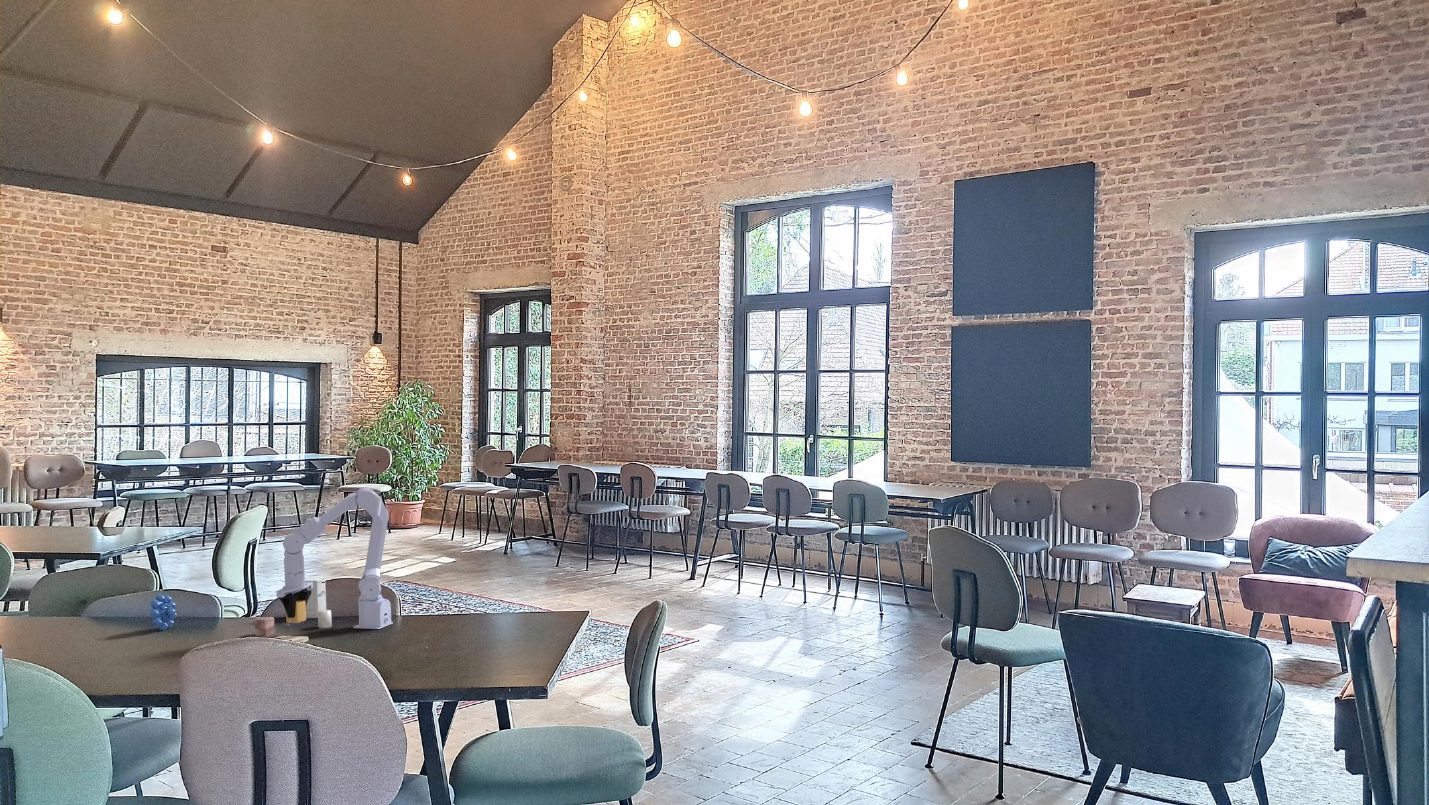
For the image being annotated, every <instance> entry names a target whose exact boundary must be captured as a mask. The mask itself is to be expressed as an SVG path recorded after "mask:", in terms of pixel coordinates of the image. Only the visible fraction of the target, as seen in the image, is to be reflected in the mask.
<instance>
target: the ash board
mask: <svg viewBox="0 0 1429 805" xmlns="http://www.w3.org/2000/svg"><path fill="white" fill-rule="evenodd" d="M274 638H281V639H283V640H292V641H296V642H303V643H306V642H309V636H303V635H302V636H298V635H297V636H296V635H278V636H274ZM303 643H302V644H303Z"/></svg>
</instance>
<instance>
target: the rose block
mask: <svg viewBox="0 0 1429 805" xmlns="http://www.w3.org/2000/svg"><path fill="white" fill-rule="evenodd" d="M253 620H254V635H255V636H257V637H266V636H270V635H273V634H275V633H276V632H275V617H273V616H261V617H258V618H255V619H253Z"/></svg>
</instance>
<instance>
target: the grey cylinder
mask: <svg viewBox="0 0 1429 805" xmlns="http://www.w3.org/2000/svg"><path fill="white" fill-rule="evenodd" d="M332 620H333V619H332V610H331V609H326V610H321V611H318V618H317V621H318V622H317V624H318V625H317V626H318V627H317V628H319V629H328V628H332V626H333V622H332Z"/></svg>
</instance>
